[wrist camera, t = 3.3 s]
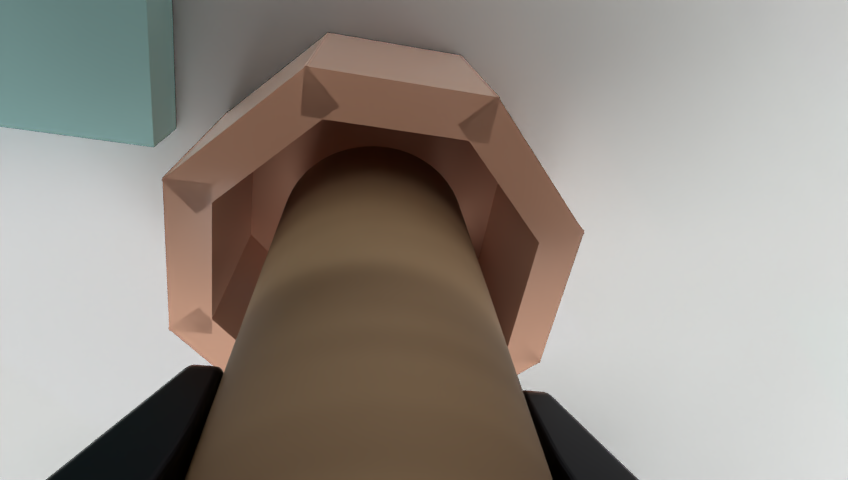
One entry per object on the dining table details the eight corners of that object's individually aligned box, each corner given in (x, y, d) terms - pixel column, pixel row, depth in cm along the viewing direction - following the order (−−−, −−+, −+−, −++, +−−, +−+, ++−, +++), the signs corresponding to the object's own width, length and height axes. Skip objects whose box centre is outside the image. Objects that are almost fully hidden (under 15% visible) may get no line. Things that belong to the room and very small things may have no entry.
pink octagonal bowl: (481, 322, 17) (514, 436, 13) (224, 297, 15) (172, 414, 12) (549, 69, 13) (624, 116, 9) (227, 14, 12) (154, 39, 8)
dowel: (443, 314, 13) (581, 1025, 4) (277, 297, 13) (51, 1082, 4) (479, 160, 11) (828, 830, 3) (287, 133, 11) (-90, 879, 2)
